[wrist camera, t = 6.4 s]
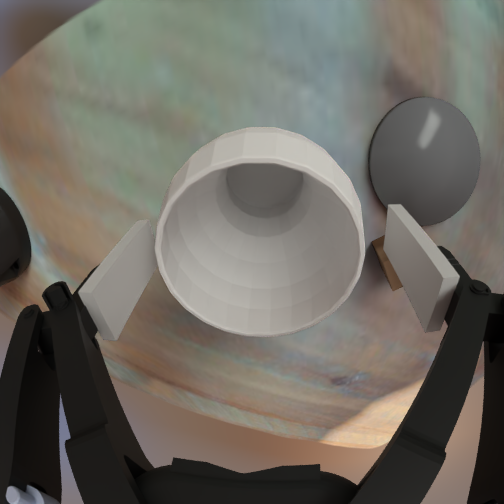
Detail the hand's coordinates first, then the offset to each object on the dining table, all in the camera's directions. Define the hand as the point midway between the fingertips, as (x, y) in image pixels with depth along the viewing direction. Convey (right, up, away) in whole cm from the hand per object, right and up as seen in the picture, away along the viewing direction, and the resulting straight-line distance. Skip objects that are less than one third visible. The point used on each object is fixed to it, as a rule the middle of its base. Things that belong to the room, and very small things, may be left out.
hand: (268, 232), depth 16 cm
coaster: (+16, +8, +8) cm, 20 cm away
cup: (0, +6, +10) cm, 12 cm away
